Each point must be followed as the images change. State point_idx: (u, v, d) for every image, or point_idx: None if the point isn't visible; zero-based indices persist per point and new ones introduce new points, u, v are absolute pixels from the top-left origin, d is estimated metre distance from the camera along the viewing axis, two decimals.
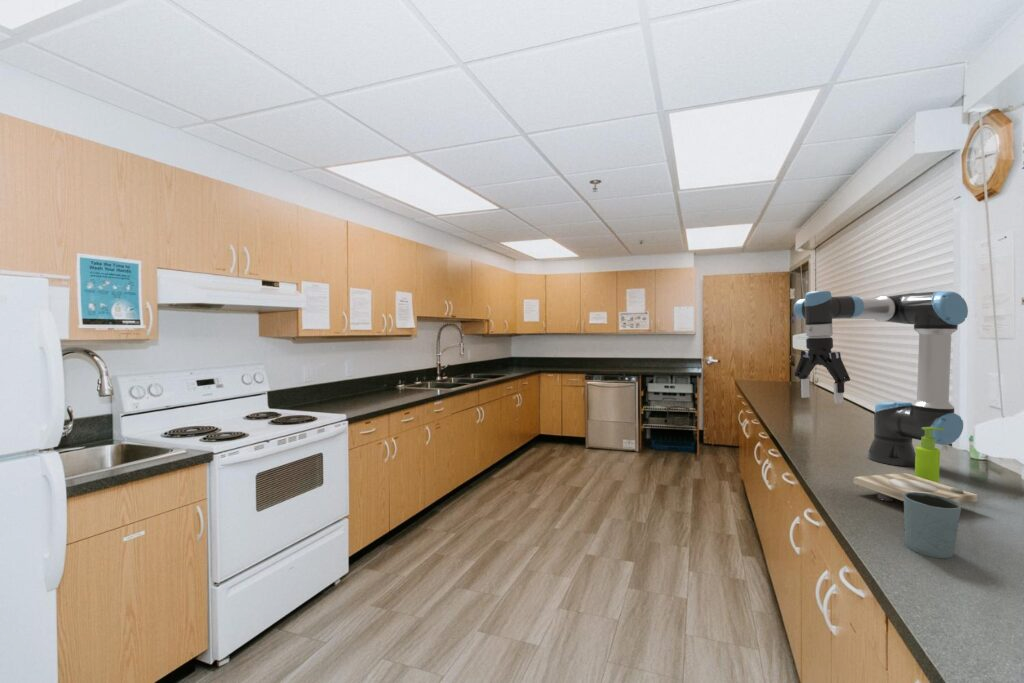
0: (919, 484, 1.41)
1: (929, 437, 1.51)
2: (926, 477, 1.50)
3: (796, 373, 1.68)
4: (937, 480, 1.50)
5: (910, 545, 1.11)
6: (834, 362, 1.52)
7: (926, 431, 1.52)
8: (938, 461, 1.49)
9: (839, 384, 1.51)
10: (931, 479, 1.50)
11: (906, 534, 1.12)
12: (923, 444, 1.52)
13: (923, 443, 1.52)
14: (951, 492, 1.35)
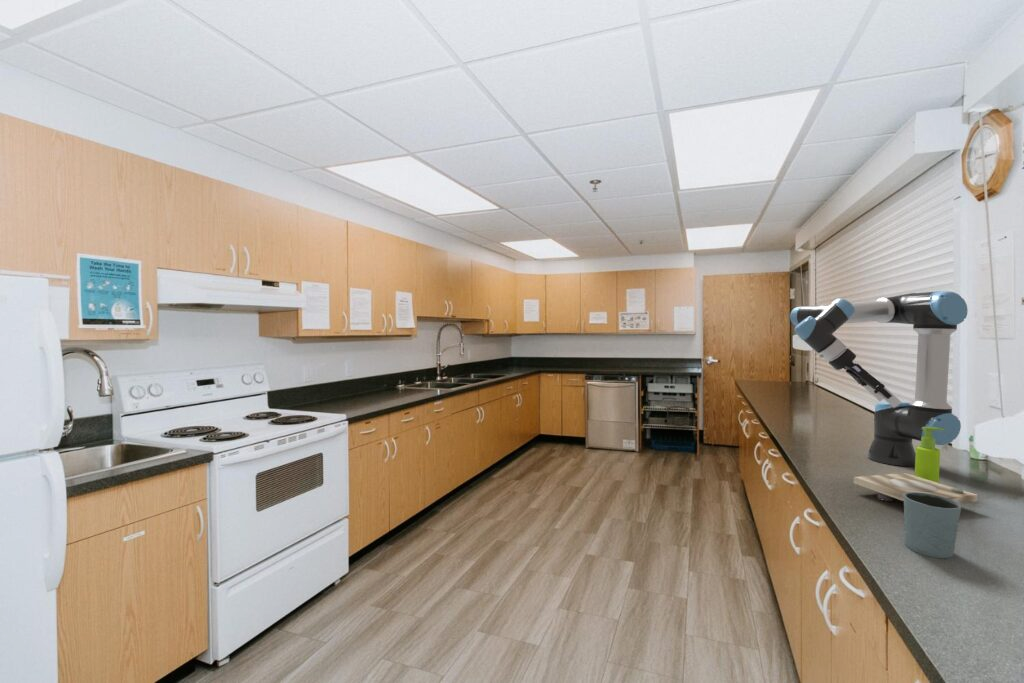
0: (919, 484, 1.41)
1: (929, 437, 1.51)
2: (926, 477, 1.50)
3: None
4: (937, 480, 1.50)
5: (910, 545, 1.11)
6: (859, 376, 1.53)
7: (926, 431, 1.52)
8: (938, 461, 1.49)
9: (880, 392, 1.50)
10: (931, 479, 1.50)
11: (906, 534, 1.12)
12: (923, 444, 1.52)
13: (923, 443, 1.52)
14: (951, 492, 1.35)
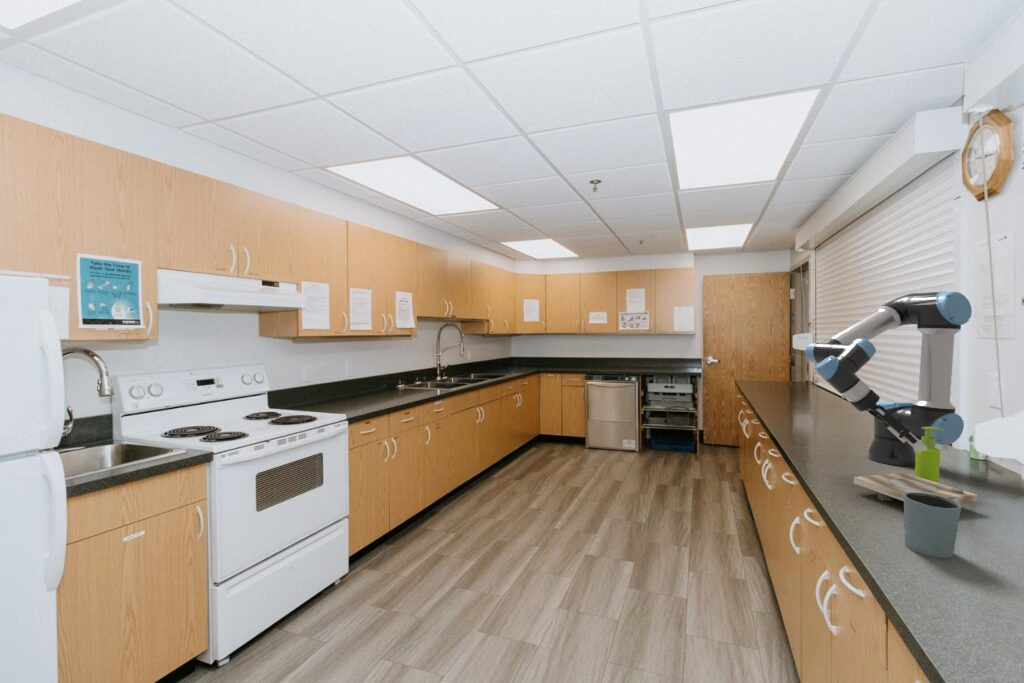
0: (919, 484, 1.41)
1: (929, 437, 1.51)
2: (926, 477, 1.50)
3: (880, 422, 1.64)
4: (937, 480, 1.50)
5: (910, 545, 1.11)
6: (884, 420, 1.50)
7: (926, 431, 1.52)
8: (938, 461, 1.49)
9: (905, 437, 1.47)
10: (931, 479, 1.50)
11: (906, 534, 1.12)
12: None
13: (923, 443, 1.52)
14: (951, 492, 1.35)
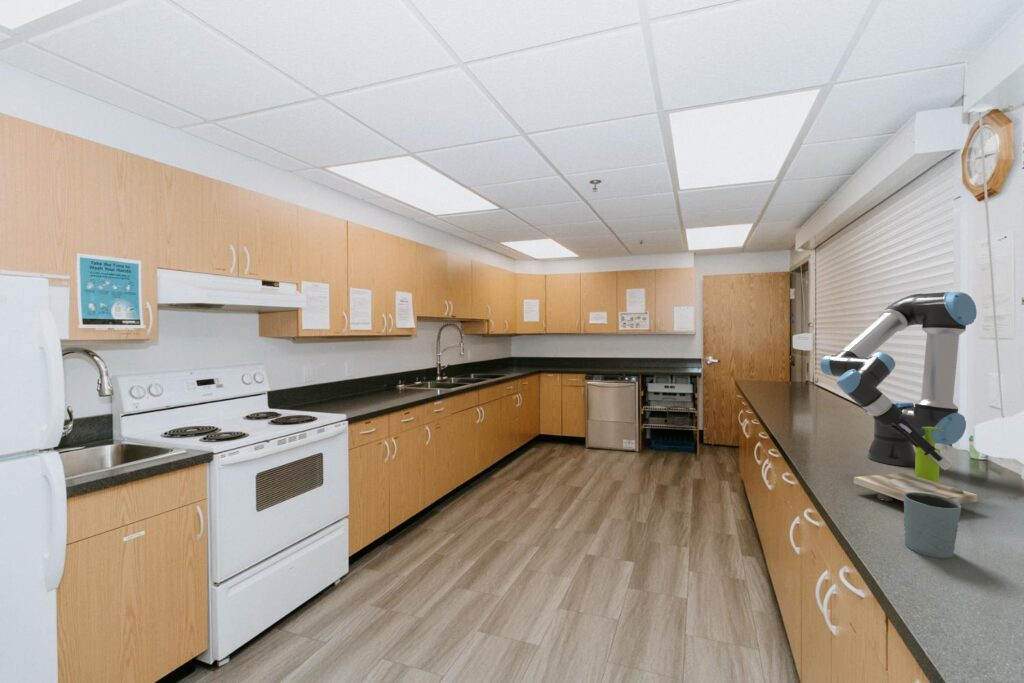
0: (919, 484, 1.41)
1: (929, 437, 1.51)
2: (926, 477, 1.50)
3: (910, 442, 1.59)
4: (937, 480, 1.50)
5: (910, 545, 1.11)
6: (910, 437, 1.49)
7: (926, 431, 1.52)
8: None
9: (931, 454, 1.48)
10: (931, 479, 1.50)
11: (906, 534, 1.12)
12: None
13: None
14: (951, 492, 1.35)
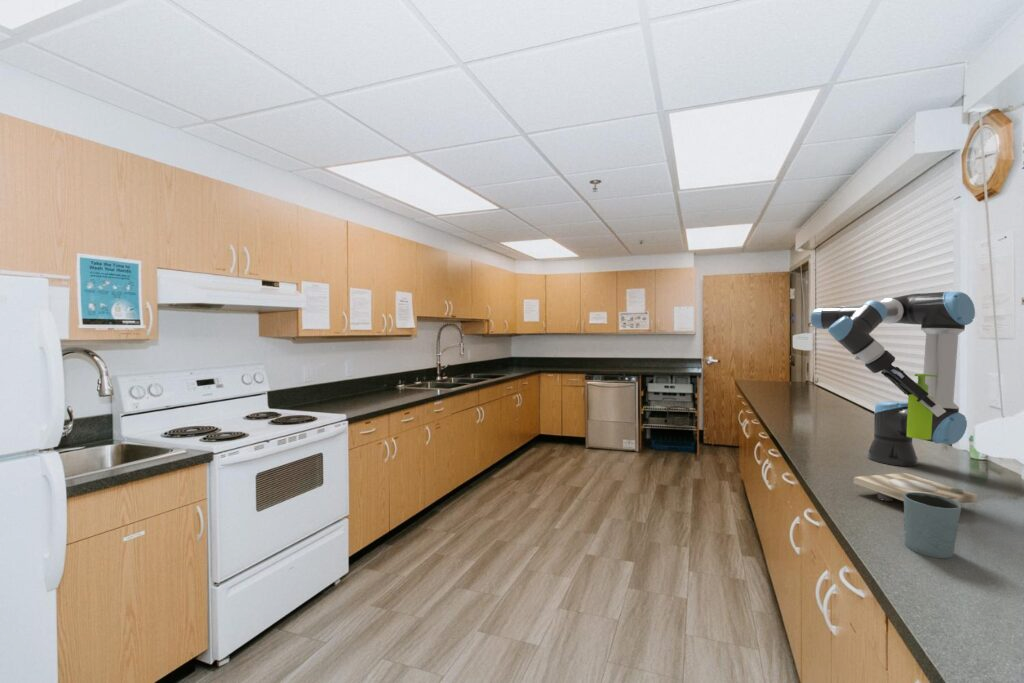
0: (919, 484, 1.41)
1: (922, 383, 1.46)
2: (918, 424, 1.45)
3: (903, 391, 1.54)
4: (930, 427, 1.45)
5: (910, 545, 1.11)
6: (902, 383, 1.45)
7: (919, 378, 1.47)
8: None
9: (923, 400, 1.44)
10: (923, 426, 1.45)
11: (906, 534, 1.12)
12: None
13: None
14: (951, 492, 1.35)
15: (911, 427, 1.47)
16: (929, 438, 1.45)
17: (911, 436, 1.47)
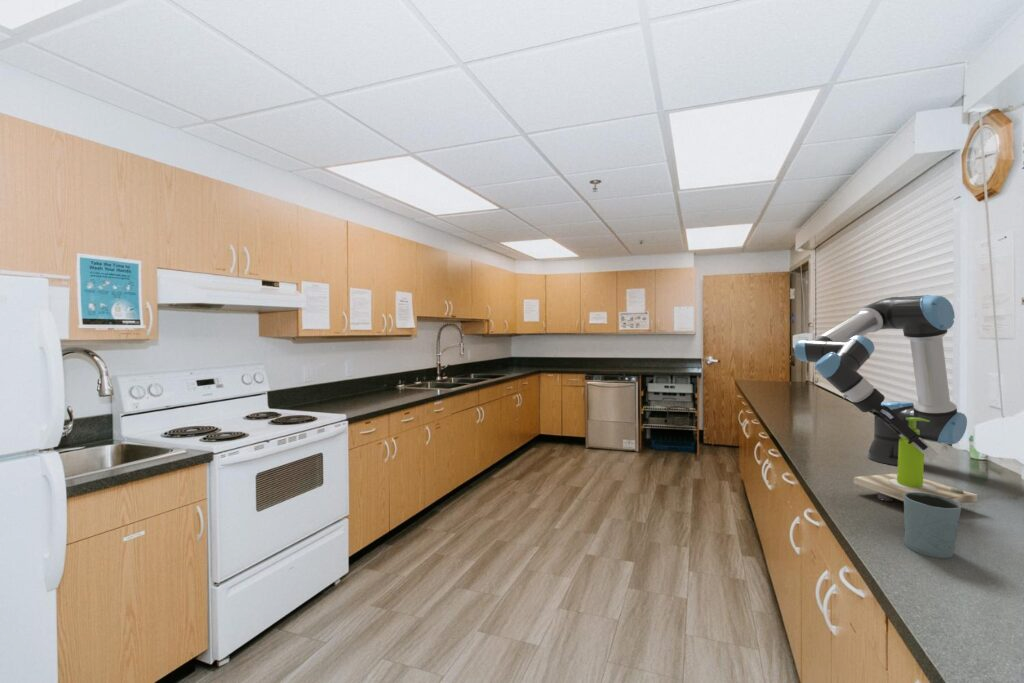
0: None
1: (913, 428, 1.40)
2: (909, 472, 1.39)
3: (891, 429, 1.48)
4: (921, 475, 1.38)
5: (910, 545, 1.11)
6: (892, 424, 1.37)
7: (910, 422, 1.40)
8: (922, 454, 1.38)
9: (915, 442, 1.36)
10: (915, 474, 1.38)
11: (906, 534, 1.12)
12: None
13: None
14: (951, 492, 1.35)
15: (902, 474, 1.40)
16: (920, 486, 1.38)
17: (902, 483, 1.40)
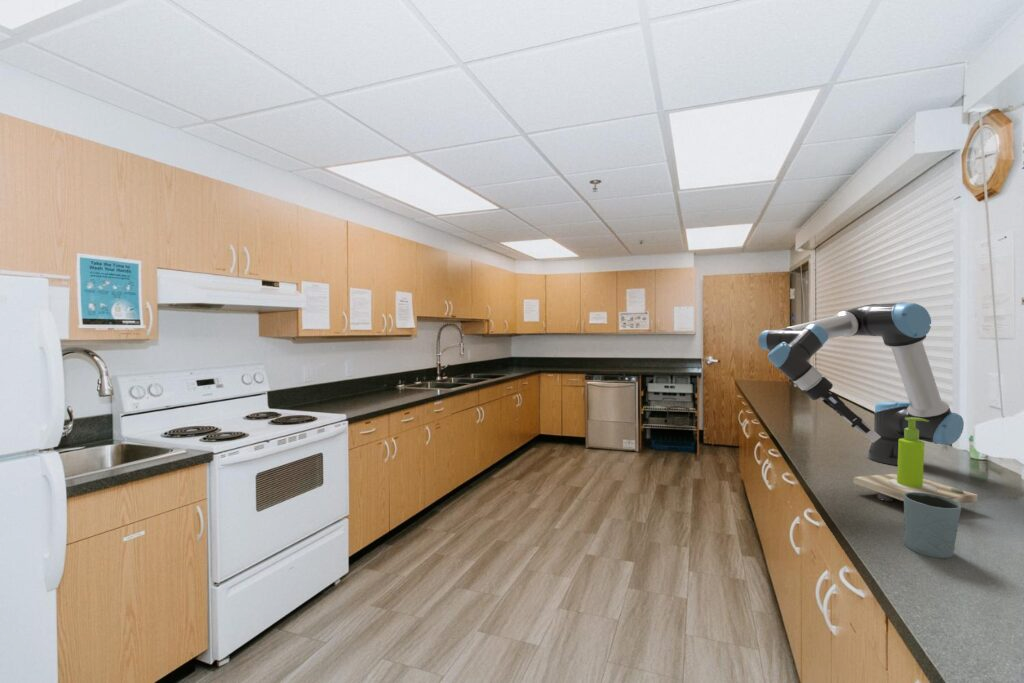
0: None
1: (912, 428, 1.40)
2: (909, 471, 1.39)
3: (836, 411, 1.55)
4: (921, 475, 1.38)
5: (910, 545, 1.11)
6: (836, 408, 1.42)
7: (909, 422, 1.40)
8: (922, 454, 1.38)
9: (858, 426, 1.39)
10: (914, 474, 1.38)
11: (906, 534, 1.12)
12: (906, 436, 1.41)
13: (906, 435, 1.40)
14: (951, 492, 1.35)
15: (902, 474, 1.40)
16: (920, 486, 1.38)
17: (902, 483, 1.40)
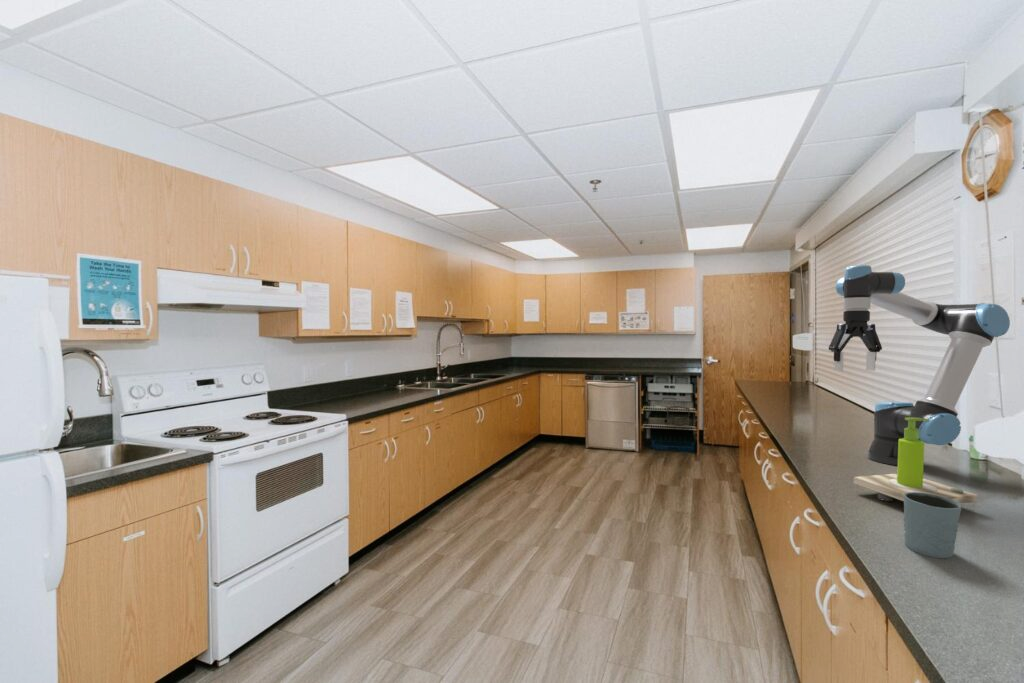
0: None
1: (912, 428, 1.40)
2: (909, 471, 1.39)
3: None
4: (921, 475, 1.38)
5: (910, 545, 1.11)
6: None
7: (909, 422, 1.40)
8: (922, 454, 1.38)
9: None
10: (914, 474, 1.38)
11: (906, 534, 1.12)
12: (906, 436, 1.41)
13: (906, 435, 1.41)
14: (951, 492, 1.35)
15: (902, 474, 1.40)
16: (920, 486, 1.38)
17: (902, 483, 1.41)
